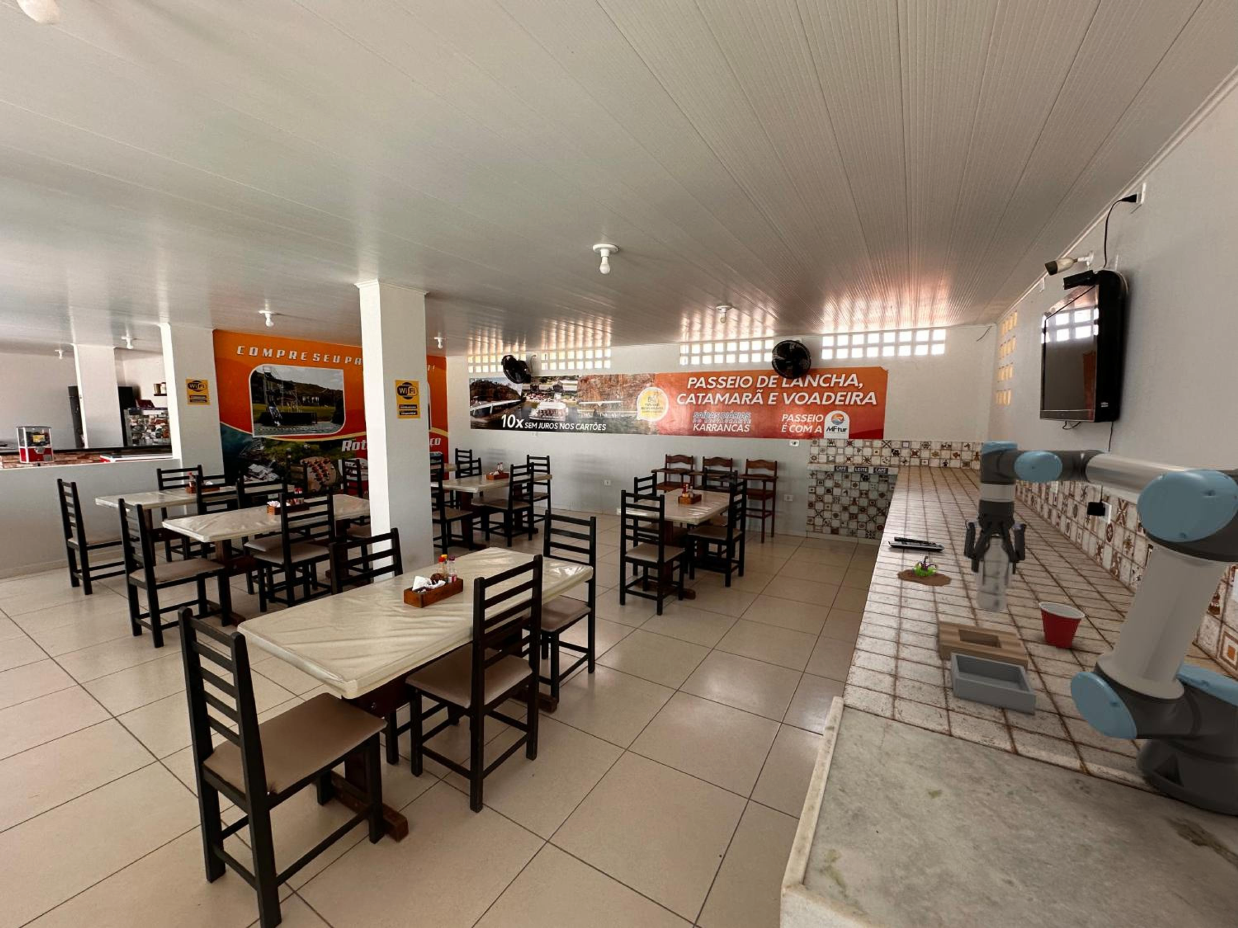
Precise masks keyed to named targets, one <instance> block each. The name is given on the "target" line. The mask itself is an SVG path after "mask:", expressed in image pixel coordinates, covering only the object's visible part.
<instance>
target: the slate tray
mask: <svg viewBox="0 0 1238 928" xmlns="http://www.w3.org/2000/svg"><path fill="white" fill-rule="evenodd" d="M949 669H950V670H949V671H950V678H951V684H952V691H953V697H955V698H958V699H962V700H967V701H972V702H976V703H979V704H980V703H981V704H985V705H989V706H992V707H997V708H1002V709H1005V710H1011V711H1015V712H1019V713H1023V714H1027V715H1033V716H1035V715H1036V704H1037V703H1036V702H1037V701H1036V700H1037V694H1036V692H1035V689H1034V687H1033V685H1032V683H1031V680H1030V678H1029V675H1028V672H1027V673H1026V671H1025V669H1024V667H1023V666H1019V665H1014V664H1009V663H1004V662H999V661H993V660H988V659H983V658H978V657H973V656H967V655H962V654H957V653H952V652H951V661H950V668H949Z"/></svg>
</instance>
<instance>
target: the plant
mask: <svg viewBox="0 0 1238 928" xmlns="http://www.w3.org/2000/svg"><path fill="white" fill-rule="evenodd" d="M929 559H930V557H929V555H925V556H924V558H923V562H922V561H919V562H917V563H915V564H914V566H913V567H911V568H910V569H905V570H903V571H900V572H898V573H896V576H897V578H898V579H899V580H901V581H904V582H909V583H915V584H920V585H923V586H926V587H927V586H928V587H929V586H930V587H940V588H941V587H943V586H947V585H950V584H951V582H952V580H953V579H952V577H950V576H948V575H946V574H944V573H939V570H937V569H939V566H938V565H937V564H935V563H930V564H928V565H927V560H929ZM935 569H936V570H935ZM934 570H935V571H934Z"/></svg>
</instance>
